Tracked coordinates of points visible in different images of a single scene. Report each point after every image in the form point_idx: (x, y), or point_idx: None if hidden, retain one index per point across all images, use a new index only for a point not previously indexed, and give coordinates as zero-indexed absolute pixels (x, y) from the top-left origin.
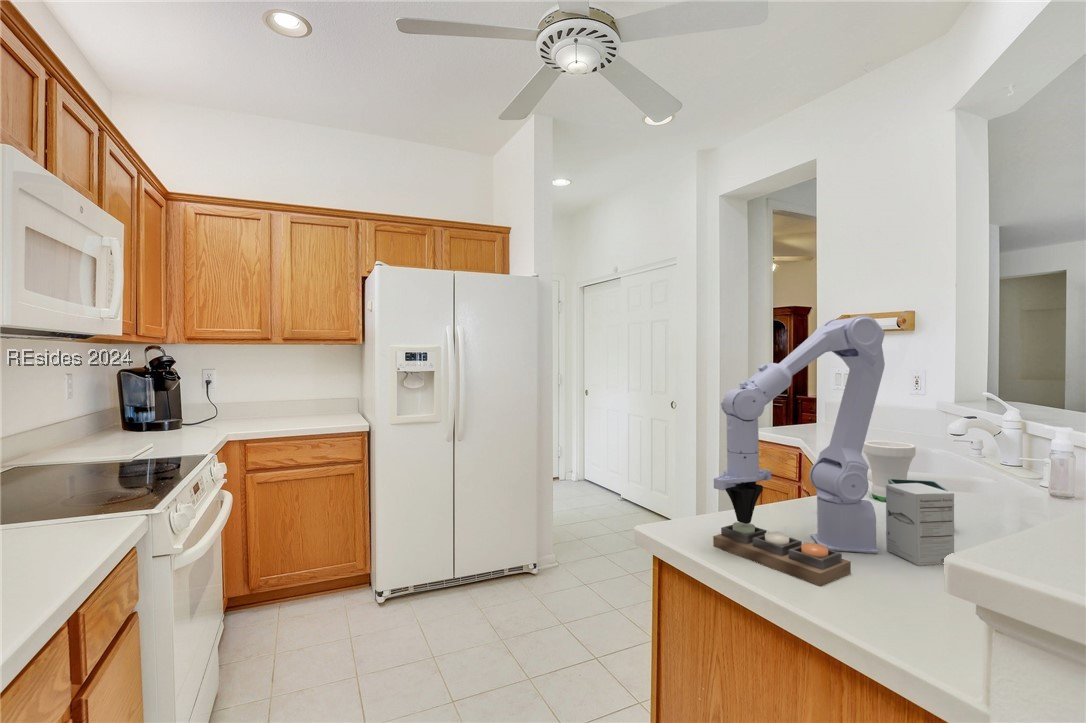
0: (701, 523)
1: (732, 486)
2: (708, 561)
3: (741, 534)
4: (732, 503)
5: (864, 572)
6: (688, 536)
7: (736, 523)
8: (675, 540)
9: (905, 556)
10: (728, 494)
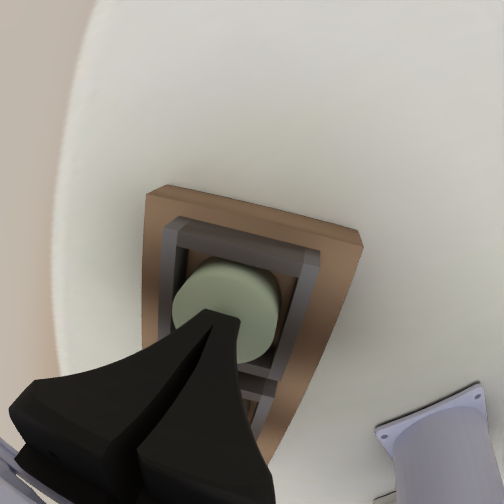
0: (411, 3)
1: (10, 453)
2: (66, 238)
3: (158, 324)
4: (137, 353)
5: (285, 474)
6: (197, 46)
7: (221, 289)
8: (123, 50)
9: (393, 496)
10: (81, 375)
